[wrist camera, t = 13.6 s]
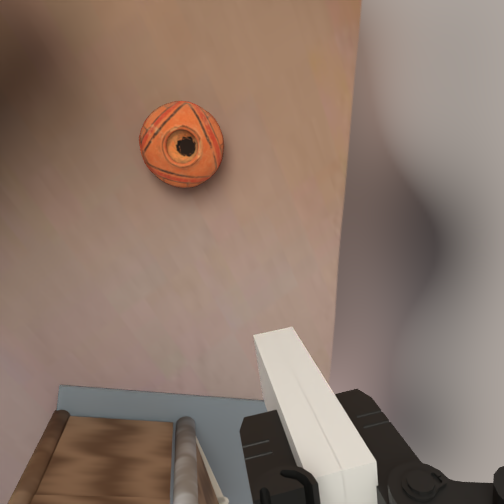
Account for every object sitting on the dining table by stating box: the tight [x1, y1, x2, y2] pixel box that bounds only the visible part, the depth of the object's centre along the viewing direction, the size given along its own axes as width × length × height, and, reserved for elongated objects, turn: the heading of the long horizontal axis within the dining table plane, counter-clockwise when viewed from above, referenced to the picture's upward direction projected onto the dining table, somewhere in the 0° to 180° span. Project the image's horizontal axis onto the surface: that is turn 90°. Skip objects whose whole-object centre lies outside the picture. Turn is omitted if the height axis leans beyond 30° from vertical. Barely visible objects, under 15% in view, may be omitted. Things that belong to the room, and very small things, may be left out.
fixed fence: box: [8, 410, 198, 504], centre depth 39 cm, size 17×3×15 cm, turn 79°
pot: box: [139, 101, 224, 188], centre depth 37 cm, size 8×8×7 cm
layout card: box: [57, 385, 268, 504], centre depth 49 cm, size 30×18×1 cm, turn 78°
